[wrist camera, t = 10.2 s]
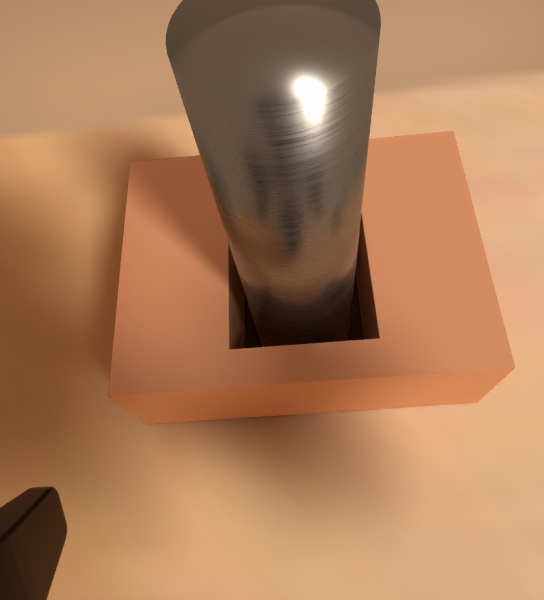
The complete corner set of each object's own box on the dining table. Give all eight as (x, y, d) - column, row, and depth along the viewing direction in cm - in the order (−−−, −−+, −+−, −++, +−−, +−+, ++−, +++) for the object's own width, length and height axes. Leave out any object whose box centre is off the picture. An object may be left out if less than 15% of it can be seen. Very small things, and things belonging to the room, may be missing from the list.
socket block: (477, 402, 18) (515, 367, 15) (148, 424, 19) (108, 396, 16) (432, 197, 22) (453, 131, 19) (160, 221, 23) (130, 161, 19)
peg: (338, 379, 19) (357, 119, 8) (246, 357, 20) (133, 89, 8) (357, 294, 21) (397, -35, 9) (271, 277, 21) (204, -48, 10)
